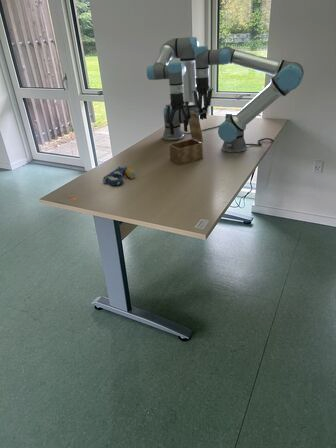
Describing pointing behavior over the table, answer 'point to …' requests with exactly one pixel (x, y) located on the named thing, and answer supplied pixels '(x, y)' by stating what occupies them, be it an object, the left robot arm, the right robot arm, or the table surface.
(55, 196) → the table surface
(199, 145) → the chest
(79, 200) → the table surface
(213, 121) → the table surface
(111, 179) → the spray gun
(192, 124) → the lid
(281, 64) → the right robot arm
